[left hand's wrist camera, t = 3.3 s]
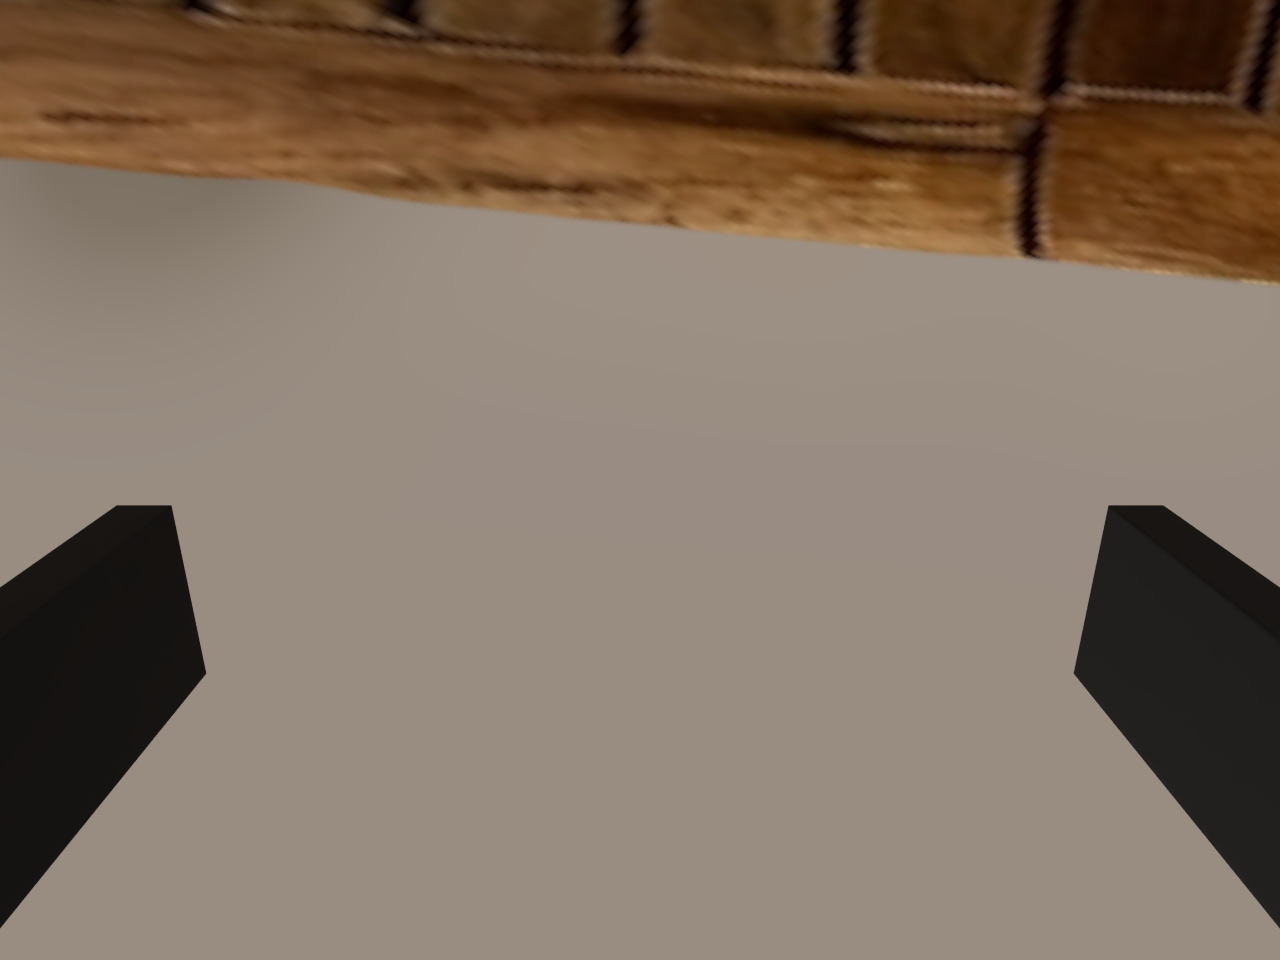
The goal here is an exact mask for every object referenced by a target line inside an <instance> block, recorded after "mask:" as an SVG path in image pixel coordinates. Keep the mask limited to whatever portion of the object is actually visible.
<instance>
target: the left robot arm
mask: <svg viewBox="0 0 1280 960" xmlns="http://www.w3.org/2000/svg"><path fill="white" fill-rule="evenodd" d="M205 674H206V670H205V665H204V660H203V656H202V651H201V646H200V641H199V636H198V631H197V626H196V622H195V617H194V612H193V607H192V602H191V598H190V593H189V588H188V583H187V578H186V573H185V569H184V564H183V559H182V554H181V549H180V545H179V540H178V535H177V530H176V525H175V520H174V516H173V511H172V506H171V505H117V506H115V507H114V508H112V509H111V510H110V511H108V512H107V513H105V514H104V515H103V516H101V517H100V518H98V519H97V520H95V521H94V522H93V523H91V524H90V525H88V526H87V527H85V528H84V529H83V530H81V531H80V532H78V533H77V534H75V535H74V536H73V537H71V538H70V539H68V540H67V541H66V542H64V543H63V544H61V545H60V546H58V547H57V548H56V549H54V550H53V551H51V552H50V553H48V554H47V555H46V556H44V557H43V558H41V559H40V560H39V561H37V562H36V563H34V564H33V565H31V566H30V567H29V568H27V569H26V570H24V571H23V572H21V573H20V574H19V575H17V576H16V577H14V578H13V579H12V580H10V581H9V582H7V583H6V584H4V585H3V586H2V587H0V928H1V927H2V925H3V924H4V923H5V922H6V920H7V919H8V918H9V917H10V916H11V914H12V913H13V912H14V911H15V909H16V908H17V907H18V906H19V904H20V903H21V902H22V901H23V899H24V898H25V897H26V896H27V894H28V893H29V892H30V891H31V890H32V888H33V887H34V886H35V885H36V883H37V882H38V881H39V880H40V878H41V877H42V876H43V875H44V873H45V872H46V871H47V870H48V868H49V867H50V866H51V865H52V864H53V862H54V861H55V860H56V859H57V857H58V856H59V855H60V854H61V852H62V851H63V850H64V849H65V847H66V846H67V845H68V844H69V843H70V841H71V840H72V839H73V838H74V836H75V835H76V834H77V833H78V831H79V830H80V829H81V828H82V827H83V825H84V824H85V823H86V822H87V820H88V819H89V818H90V817H91V815H92V814H93V813H94V812H95V810H96V809H97V808H98V807H99V805H100V804H101V803H102V802H103V800H104V799H105V798H106V797H107V796H108V794H109V793H110V792H111V791H112V789H113V788H114V787H115V786H116V784H117V783H118V782H119V781H120V780H121V778H122V777H123V776H124V775H125V773H126V772H127V771H128V770H129V768H130V767H131V766H132V765H133V763H134V762H135V761H136V760H137V759H138V757H139V756H140V755H141V754H142V752H143V751H144V750H145V749H146V747H147V746H148V745H149V744H150V742H151V741H152V740H153V739H154V737H155V736H156V735H157V734H158V732H159V731H160V730H161V729H162V728H163V726H164V725H165V724H166V723H167V721H168V720H169V719H170V718H171V716H172V715H173V714H174V713H175V712H176V710H177V709H178V708H179V707H180V705H181V704H182V703H183V702H184V700H185V699H186V698H187V697H188V695H189V694H190V693H191V692H192V690H193V689H194V688H195V687H196V686H197V684H198V683H199V682H200V681H201V679H202V678H203V677H204V676H205ZM1074 674H1075V676H1076V677H1077V678H1078V679H1079V681H1080V682H1081V683H1082V684H1083V686H1084V687H1085V688H1086V689H1087V691H1088V692H1089V693H1090V694H1091V695H1092V697H1093V698H1094V699H1095V700H1096V702H1097V703H1098V704H1099V705H1100V707H1101V708H1102V709H1103V710H1104V711H1105V713H1106V714H1107V715H1108V716H1109V718H1110V719H1111V720H1112V721H1113V723H1114V724H1115V725H1116V726H1117V728H1118V729H1119V730H1120V731H1121V733H1122V734H1123V735H1124V736H1125V737H1126V739H1127V740H1128V741H1129V742H1130V744H1131V745H1132V746H1133V747H1134V749H1135V750H1136V751H1137V752H1138V754H1139V755H1140V756H1141V757H1142V759H1143V760H1144V761H1145V762H1146V763H1147V765H1148V766H1149V767H1150V768H1151V770H1152V771H1153V772H1154V773H1155V775H1156V776H1157V777H1158V778H1159V780H1160V781H1161V782H1162V783H1163V784H1164V786H1165V787H1166V788H1167V789H1168V791H1169V792H1170V793H1171V794H1172V796H1173V797H1174V798H1175V799H1176V801H1177V802H1178V803H1179V804H1180V805H1181V807H1182V808H1183V809H1184V810H1185V812H1186V813H1187V814H1188V815H1189V817H1190V818H1191V819H1192V820H1193V822H1194V823H1195V824H1196V825H1197V827H1198V828H1199V829H1200V830H1201V831H1202V833H1203V834H1204V835H1205V836H1206V838H1207V839H1208V840H1209V841H1210V842H1211V844H1212V845H1213V846H1214V848H1215V849H1216V850H1217V851H1218V852H1219V854H1220V855H1221V856H1222V857H1223V859H1224V860H1225V861H1226V862H1227V864H1228V865H1229V866H1230V867H1231V869H1232V870H1233V871H1234V872H1235V873H1236V875H1237V876H1238V877H1239V878H1240V880H1241V881H1242V882H1243V883H1244V885H1245V886H1246V887H1247V888H1248V889H1249V891H1250V892H1251V893H1252V895H1253V896H1254V897H1255V898H1256V899H1257V901H1258V902H1259V903H1260V904H1261V906H1262V907H1263V908H1264V909H1265V911H1266V912H1267V913H1268V914H1269V916H1270V917H1271V918H1272V919H1273V920H1274V922H1275V923H1276V924H1277V925H1278V927H1279V928H1280V587H1278V586H1277V585H1276V584H1274V583H1273V582H1271V581H1270V580H1268V579H1267V578H1266V577H1264V576H1263V575H1261V574H1260V573H1259V572H1257V571H1256V570H1254V569H1253V568H1251V567H1250V566H1249V565H1247V564H1246V563H1244V562H1243V561H1241V560H1240V559H1239V558H1237V557H1236V556H1234V555H1233V554H1232V553H1230V552H1229V551H1227V550H1226V549H1224V548H1223V547H1222V546H1220V545H1219V544H1217V543H1216V542H1214V541H1213V540H1212V539H1210V538H1209V537H1207V536H1206V535H1205V534H1203V533H1202V532H1200V531H1199V530H1197V529H1196V528H1195V527H1193V526H1192V525H1190V524H1189V523H1187V522H1186V521H1185V520H1183V519H1182V518H1180V517H1179V516H1177V515H1176V514H1175V513H1173V512H1172V511H1170V510H1169V509H1168V508H1166V507H1165V506H1163V505H1128V506H1127V505H1109V506H1108V511H1107V516H1106V520H1105V525H1104V530H1103V535H1102V540H1101V545H1100V549H1099V554H1098V559H1097V564H1096V569H1095V573H1094V578H1093V583H1092V588H1091V593H1090V598H1089V602H1088V607H1087V612H1086V617H1085V622H1084V627H1083V631H1082V636H1081V641H1080V646H1079V651H1078V656H1077V660H1076V665H1075V670H1074Z"/></svg>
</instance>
